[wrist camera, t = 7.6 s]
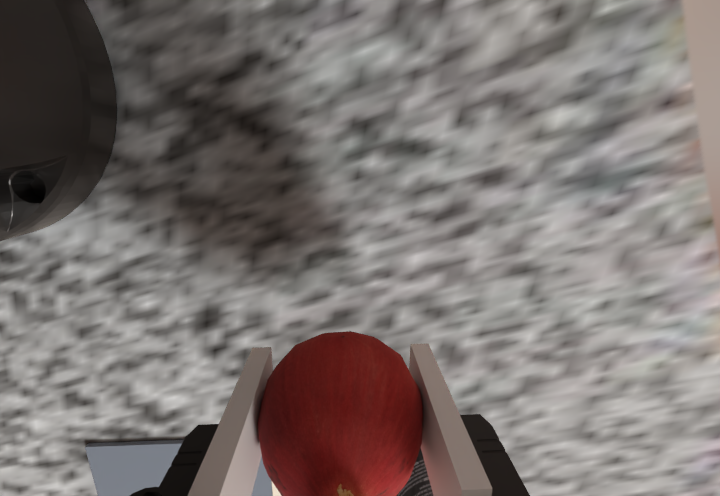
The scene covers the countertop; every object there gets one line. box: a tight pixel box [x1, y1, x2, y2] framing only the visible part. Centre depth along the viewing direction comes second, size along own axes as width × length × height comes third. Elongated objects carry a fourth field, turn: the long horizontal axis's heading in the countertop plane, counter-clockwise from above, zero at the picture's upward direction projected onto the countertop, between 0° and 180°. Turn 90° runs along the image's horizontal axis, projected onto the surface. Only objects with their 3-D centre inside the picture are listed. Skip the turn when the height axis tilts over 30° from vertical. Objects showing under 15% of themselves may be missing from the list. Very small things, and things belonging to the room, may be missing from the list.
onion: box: [258, 331, 423, 496], centre depth 12 cm, size 6×6×8 cm
